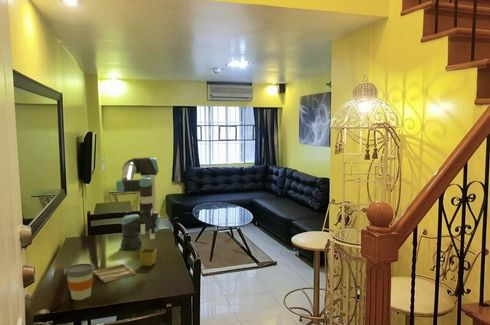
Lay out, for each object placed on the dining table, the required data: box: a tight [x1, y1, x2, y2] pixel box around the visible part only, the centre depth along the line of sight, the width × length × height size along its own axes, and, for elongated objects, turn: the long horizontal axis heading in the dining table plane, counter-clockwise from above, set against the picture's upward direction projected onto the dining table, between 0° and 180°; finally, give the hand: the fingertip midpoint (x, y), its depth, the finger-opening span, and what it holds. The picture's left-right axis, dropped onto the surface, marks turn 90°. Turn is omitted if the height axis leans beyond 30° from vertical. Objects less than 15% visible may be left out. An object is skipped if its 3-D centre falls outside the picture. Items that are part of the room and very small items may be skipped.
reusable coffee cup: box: [66, 263, 94, 301], centre depth 195 cm, size 13×13×15 cm
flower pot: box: [139, 248, 158, 267], centre depth 239 cm, size 9×9×9 cm
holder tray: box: [93, 263, 136, 283], centre depth 225 cm, size 18×18×2 cm
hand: (147, 236), depth 238 cm, fingers open, 13 cm apart
